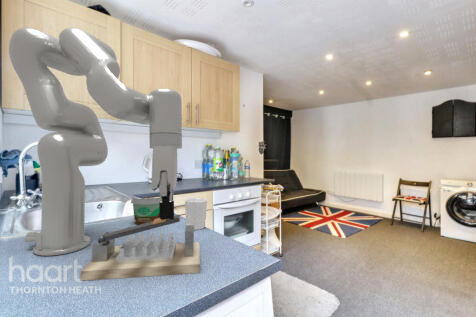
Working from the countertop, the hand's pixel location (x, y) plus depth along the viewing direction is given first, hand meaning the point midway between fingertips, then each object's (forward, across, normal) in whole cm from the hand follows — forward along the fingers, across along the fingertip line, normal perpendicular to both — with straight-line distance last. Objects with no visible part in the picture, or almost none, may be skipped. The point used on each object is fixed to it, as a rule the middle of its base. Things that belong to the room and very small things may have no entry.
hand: (167, 217), depth 56 cm
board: (+11, -1, -4) cm, 12 cm away
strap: (+3, 0, -6) cm, 6 cm away
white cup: (+11, -28, +7) cm, 30 cm away
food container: (+10, -34, -11) cm, 37 cm away
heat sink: (+9, -1, -5) cm, 10 cm away
